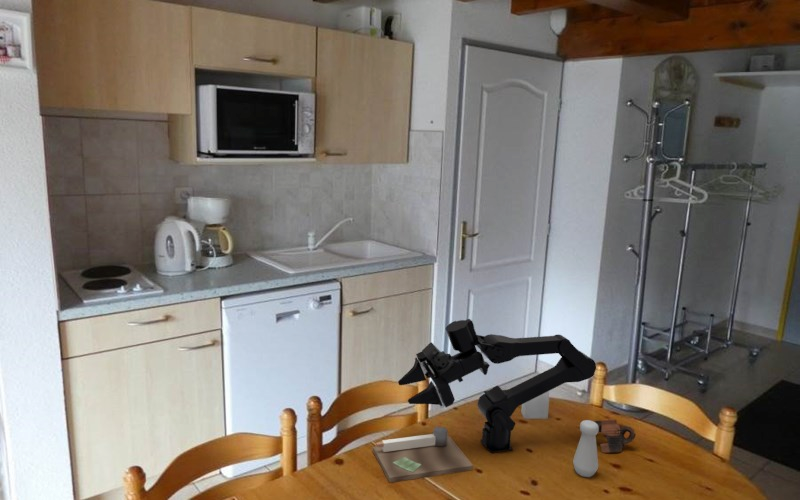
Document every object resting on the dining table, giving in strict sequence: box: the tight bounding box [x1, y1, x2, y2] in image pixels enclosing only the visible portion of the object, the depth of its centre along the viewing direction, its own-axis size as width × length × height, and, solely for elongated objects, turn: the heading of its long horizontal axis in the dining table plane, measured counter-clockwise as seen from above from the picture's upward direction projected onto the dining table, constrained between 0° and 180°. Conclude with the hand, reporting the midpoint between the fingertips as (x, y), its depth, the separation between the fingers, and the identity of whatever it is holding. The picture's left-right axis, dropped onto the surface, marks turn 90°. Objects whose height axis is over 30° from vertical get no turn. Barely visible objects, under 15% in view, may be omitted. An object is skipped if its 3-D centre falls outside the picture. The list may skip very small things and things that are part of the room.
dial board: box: [372, 436, 474, 483], centre depth 144 cm, size 21×14×1 cm
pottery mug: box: [592, 418, 636, 454], centre depth 155 cm, size 12×10×8 cm
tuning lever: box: [375, 426, 448, 452], centre depth 147 cm, size 19×4×4 cm, turn 108°
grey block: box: [520, 391, 550, 420], centre depth 169 cm, size 4×7×10 cm, turn 95°
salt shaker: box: [572, 419, 599, 478], centre depth 140 cm, size 6×6×13 cm
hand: (403, 392), depth 143 cm, fingers open, 9 cm apart
